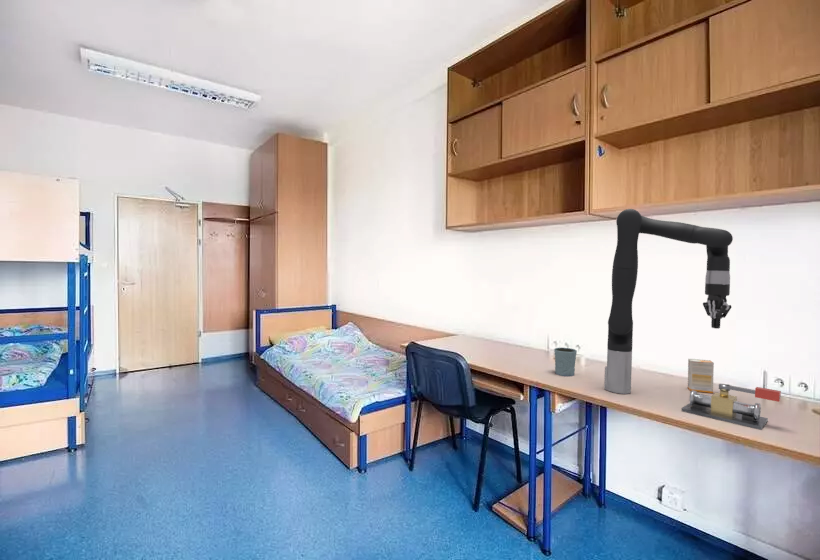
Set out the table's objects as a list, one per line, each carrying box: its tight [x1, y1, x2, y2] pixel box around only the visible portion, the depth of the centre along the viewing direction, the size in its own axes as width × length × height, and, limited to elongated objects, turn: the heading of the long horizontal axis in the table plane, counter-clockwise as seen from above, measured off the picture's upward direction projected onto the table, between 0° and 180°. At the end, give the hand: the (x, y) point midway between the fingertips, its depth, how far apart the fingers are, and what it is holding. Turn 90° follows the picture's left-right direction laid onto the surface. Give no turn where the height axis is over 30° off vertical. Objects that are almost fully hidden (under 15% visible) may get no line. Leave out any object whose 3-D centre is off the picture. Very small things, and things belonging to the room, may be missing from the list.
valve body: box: [681, 389, 769, 431], centre depth 143 cm, size 22×12×9 cm, turn 41°
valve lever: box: [718, 383, 782, 403], centre depth 138 cm, size 16×3×3 cm, turn 41°
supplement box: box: [687, 358, 715, 394], centre depth 173 cm, size 8×5×13 cm, turn 66°
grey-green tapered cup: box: [553, 347, 577, 377], centre depth 197 cm, size 10×10×12 cm
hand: (715, 328), depth 156 cm, fingers closed
